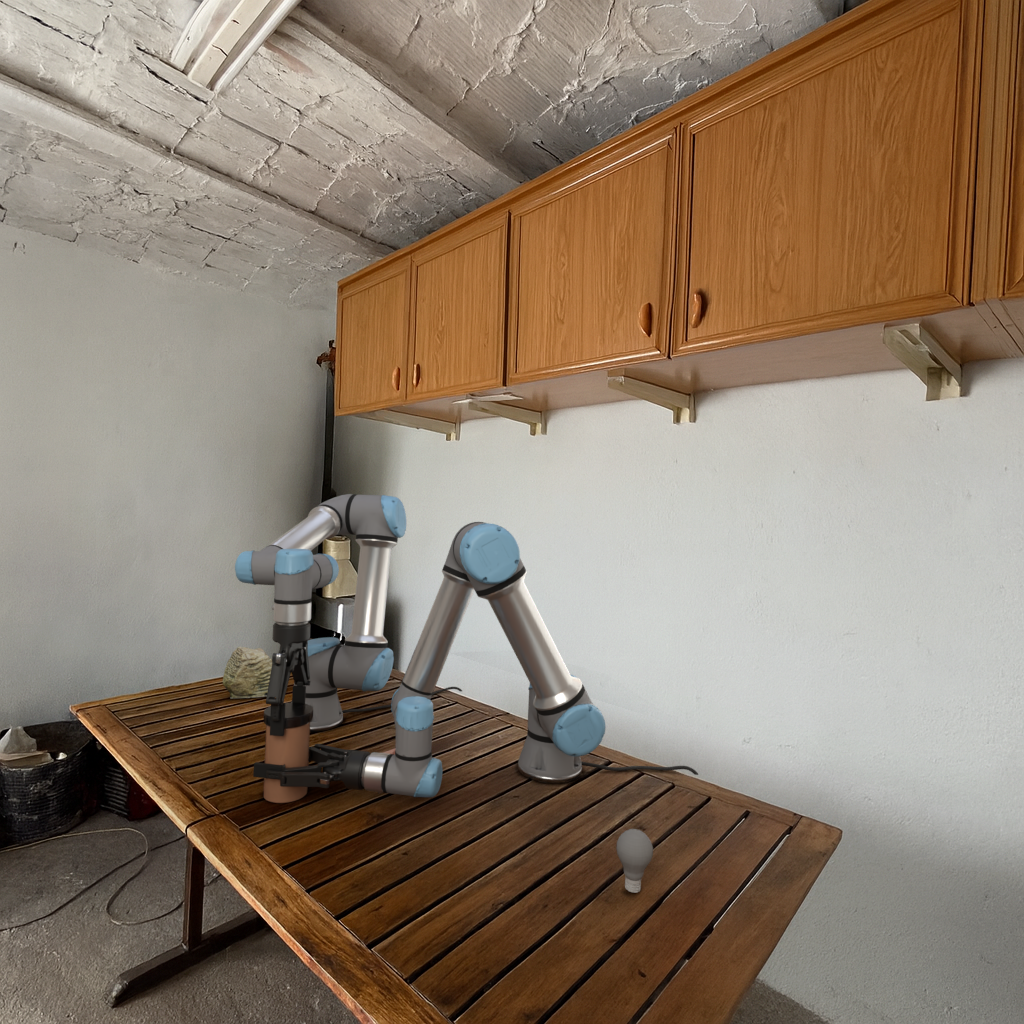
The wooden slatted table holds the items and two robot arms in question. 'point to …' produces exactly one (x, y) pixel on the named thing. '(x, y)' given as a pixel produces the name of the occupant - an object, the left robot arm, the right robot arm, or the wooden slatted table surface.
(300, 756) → the jar
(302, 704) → the lid
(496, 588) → the right robot arm
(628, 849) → the light bulb
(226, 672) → the fossil
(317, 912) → the wooden slatted table surface
